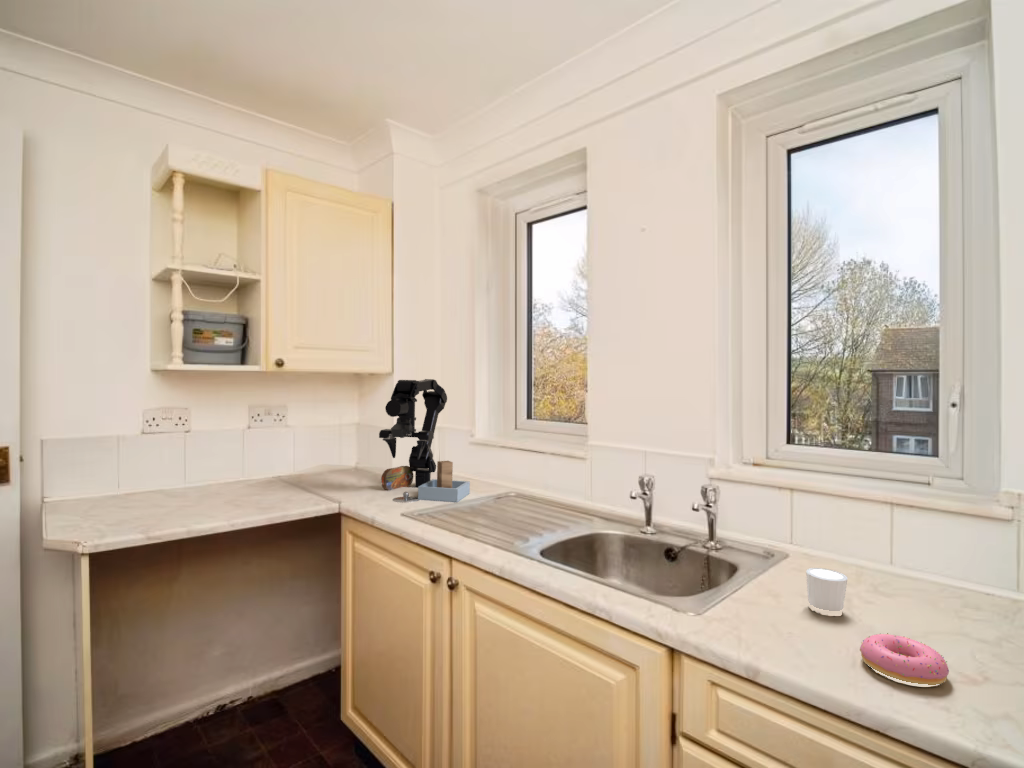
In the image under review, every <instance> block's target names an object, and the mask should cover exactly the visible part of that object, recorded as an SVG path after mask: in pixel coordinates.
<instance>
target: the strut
mask: <svg viewBox="0 0 1024 768" xmlns="http://www.w3.org/2000/svg"><path fill="white" fill-rule="evenodd" d="M436 462H437V464H436V471H437V472H436V479H437V487H440V488H452V480H453V468H454V466H453V464H454V462H453V461H451V460H438V461H436Z"/></svg>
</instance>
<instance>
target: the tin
mask: <svg viewBox="0 0 1024 768" xmlns="http://www.w3.org/2000/svg"><path fill="white" fill-rule="evenodd" d="M380 480H381V487H382V488H383V490H385V491H391V490H392V491H393V490H396V489H401V488H409V487H410V486H411V485H412V484H413V482H414V481H413V480H414V471H410V465H401V466H396V467H391V468H387V469H385V470H384V471H383V473H382V475H381V479H380Z"/></svg>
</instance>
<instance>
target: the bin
mask: <svg viewBox="0 0 1024 768" xmlns="http://www.w3.org/2000/svg"><path fill="white" fill-rule="evenodd" d="M470 483H471V482H470V481H467V480H466V481H465V480H453V479H452V488H440V487H437V478H435V479H430V481H428V482H426V483H425V484H423V485H421V486H419V487H418V489H417V493H418V494H417V498H418V501H430V502H432V501H433V502H444V503H445V502H446V503H459V502H460V501H462V500H463V499H464V498H466V497H467V496H470V494H471V493H470V489H471V488H470V487H471V485H470Z"/></svg>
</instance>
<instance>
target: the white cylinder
mask: <svg viewBox="0 0 1024 768" xmlns="http://www.w3.org/2000/svg"><path fill="white" fill-rule="evenodd" d="M805 574H806V586H807V587H806V589H807V590H806V591H807V601H808V602H809V603H810V605H813V606H814V607H816V608H819V609H823V610H829V611H840V610H842V609H843V610H844V607H845V606H844V605H845V600H846V599H845V598H846V591H847V585H848V576H847V575H845V574H844V573H841V572H839V571H836V570H833V569H829V568H821V567H809V568H807V569H806V572H805Z"/></svg>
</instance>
